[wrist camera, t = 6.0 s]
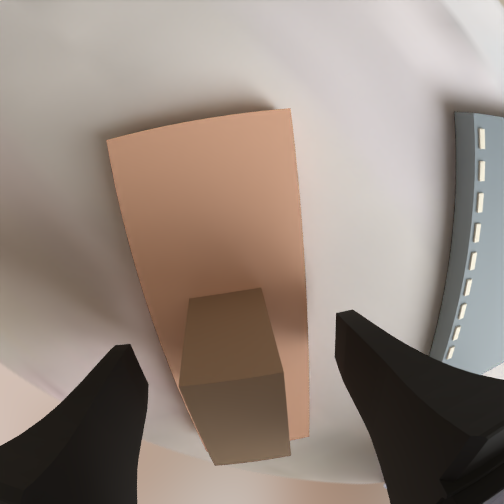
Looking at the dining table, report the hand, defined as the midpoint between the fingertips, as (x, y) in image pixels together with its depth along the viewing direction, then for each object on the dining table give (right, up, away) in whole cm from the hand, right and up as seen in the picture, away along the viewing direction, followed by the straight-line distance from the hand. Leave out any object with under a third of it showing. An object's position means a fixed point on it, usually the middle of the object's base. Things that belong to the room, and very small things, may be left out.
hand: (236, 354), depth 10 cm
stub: (0, +1, +2) cm, 2 cm away
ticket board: (+14, +3, +3) cm, 15 cm away
